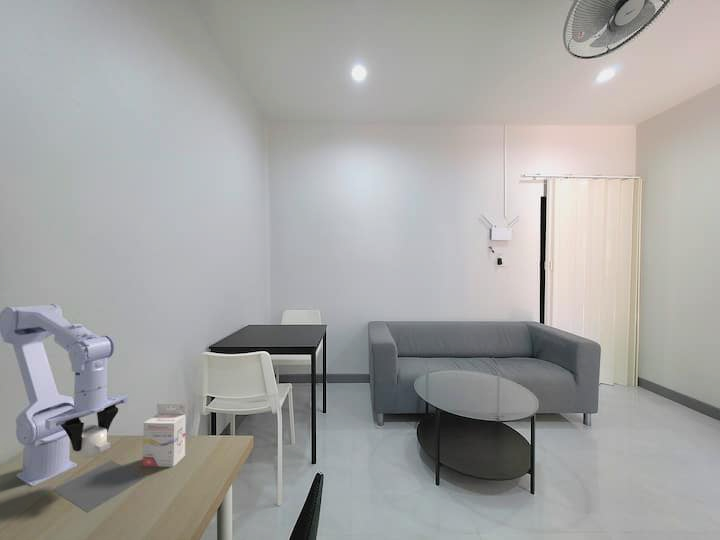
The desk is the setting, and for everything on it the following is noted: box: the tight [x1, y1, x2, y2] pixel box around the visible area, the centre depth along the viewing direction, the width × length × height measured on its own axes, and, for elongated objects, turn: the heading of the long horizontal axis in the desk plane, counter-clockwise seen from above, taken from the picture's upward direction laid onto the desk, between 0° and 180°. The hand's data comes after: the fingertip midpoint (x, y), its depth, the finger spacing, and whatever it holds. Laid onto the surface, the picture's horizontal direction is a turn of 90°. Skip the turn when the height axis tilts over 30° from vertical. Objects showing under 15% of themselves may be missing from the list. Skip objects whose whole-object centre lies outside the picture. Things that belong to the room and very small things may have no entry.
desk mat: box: [52, 460, 147, 513], centre depth 65 cm, size 16×11×1 cm
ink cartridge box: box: [142, 402, 187, 468], centre depth 73 cm, size 9×5×15 cm, turn 88°
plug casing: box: [72, 424, 111, 459], centre depth 65 cm, size 11×4×4 cm, turn 67°
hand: (89, 444), depth 66 cm, fingers closed on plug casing, 4 cm apart
